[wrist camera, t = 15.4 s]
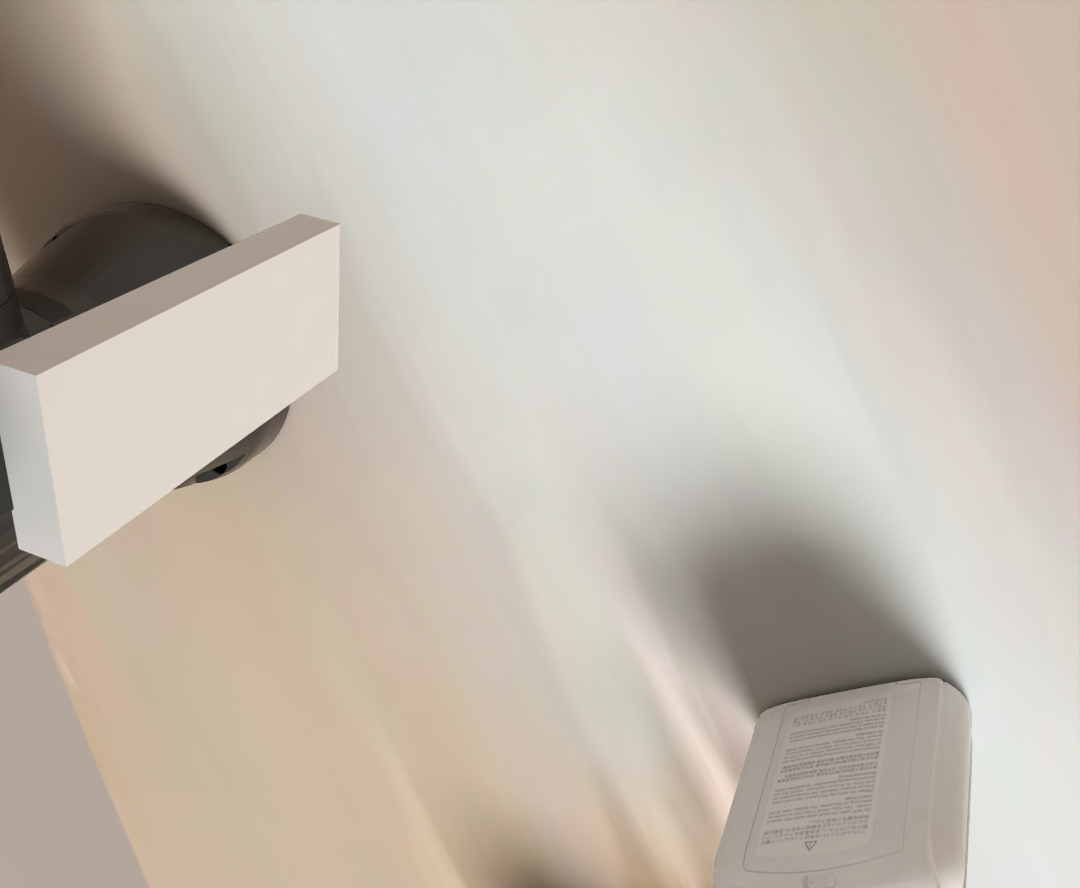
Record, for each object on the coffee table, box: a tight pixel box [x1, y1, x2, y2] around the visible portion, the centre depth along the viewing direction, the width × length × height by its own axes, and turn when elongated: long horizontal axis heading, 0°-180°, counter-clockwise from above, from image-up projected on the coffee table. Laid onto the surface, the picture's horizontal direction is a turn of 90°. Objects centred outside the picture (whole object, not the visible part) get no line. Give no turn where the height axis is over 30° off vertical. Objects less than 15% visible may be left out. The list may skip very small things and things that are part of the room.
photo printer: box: [714, 678, 972, 888], centre depth 43 cm, size 10×4×12 cm, turn 122°
